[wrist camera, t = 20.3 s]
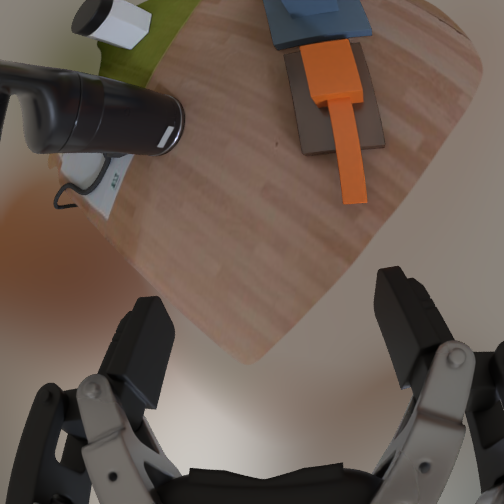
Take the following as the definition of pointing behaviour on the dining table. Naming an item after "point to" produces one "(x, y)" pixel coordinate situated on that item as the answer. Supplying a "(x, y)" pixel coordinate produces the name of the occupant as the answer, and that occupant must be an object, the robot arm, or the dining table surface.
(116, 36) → the jar
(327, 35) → the stand
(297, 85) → the pad
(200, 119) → the dining table surface
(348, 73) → the orange toy mallet
